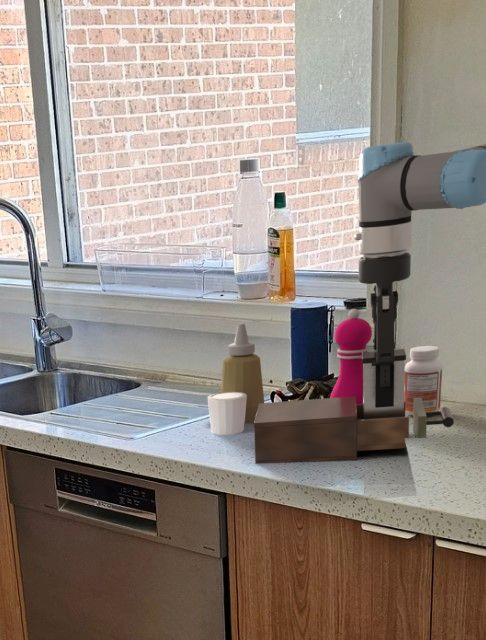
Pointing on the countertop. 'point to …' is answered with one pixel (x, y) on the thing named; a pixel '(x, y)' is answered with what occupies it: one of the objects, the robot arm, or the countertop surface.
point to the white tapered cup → (227, 412)
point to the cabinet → (306, 431)
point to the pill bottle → (423, 379)
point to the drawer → (396, 427)
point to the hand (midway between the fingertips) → (383, 398)
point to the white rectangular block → (369, 387)
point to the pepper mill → (351, 356)
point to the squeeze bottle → (243, 373)
